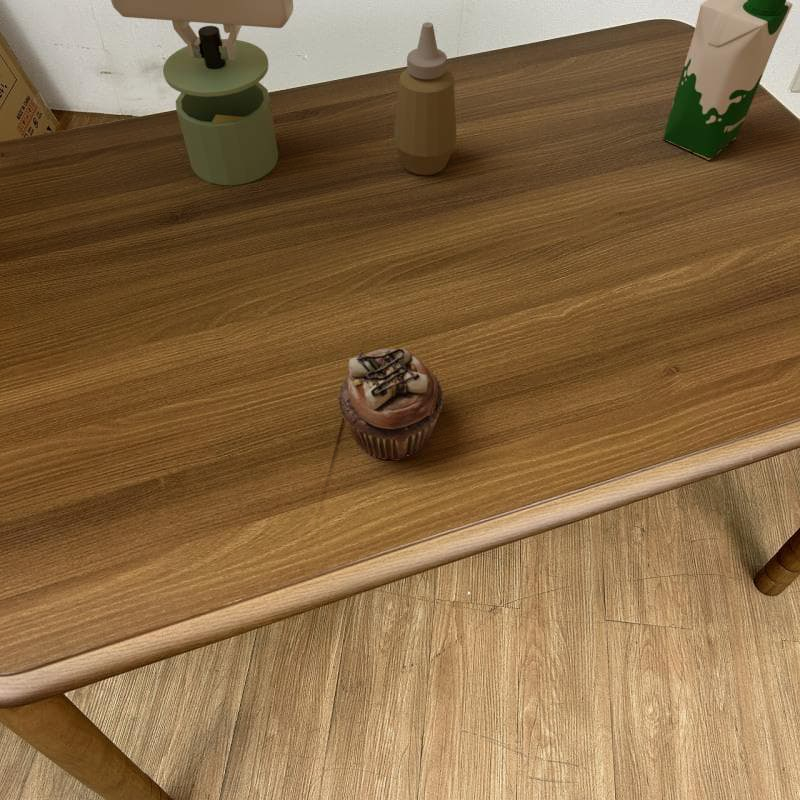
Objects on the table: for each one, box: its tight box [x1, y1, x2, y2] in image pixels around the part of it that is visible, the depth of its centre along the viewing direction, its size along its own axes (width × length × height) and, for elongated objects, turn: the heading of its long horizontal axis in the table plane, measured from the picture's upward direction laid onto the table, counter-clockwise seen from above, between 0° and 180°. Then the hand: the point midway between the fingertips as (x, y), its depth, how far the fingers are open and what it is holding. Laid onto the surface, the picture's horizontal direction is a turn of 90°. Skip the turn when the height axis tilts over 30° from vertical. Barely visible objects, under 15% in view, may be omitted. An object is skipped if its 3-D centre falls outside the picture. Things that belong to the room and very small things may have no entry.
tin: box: [175, 81, 279, 186], centre depth 95 cm, size 11×11×8 cm
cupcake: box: [337, 348, 445, 461], centre depth 68 cm, size 10×10×10 cm
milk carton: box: [662, 0, 793, 158], centre depth 93 cm, size 9×9×20 cm
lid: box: [162, 25, 270, 97], centre depth 87 cm, size 12×12×5 cm
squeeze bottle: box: [393, 21, 457, 176], centre depth 91 cm, size 8×8×18 cm
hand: (213, 56), depth 88 cm, fingers closed on lid, 2 cm apart
